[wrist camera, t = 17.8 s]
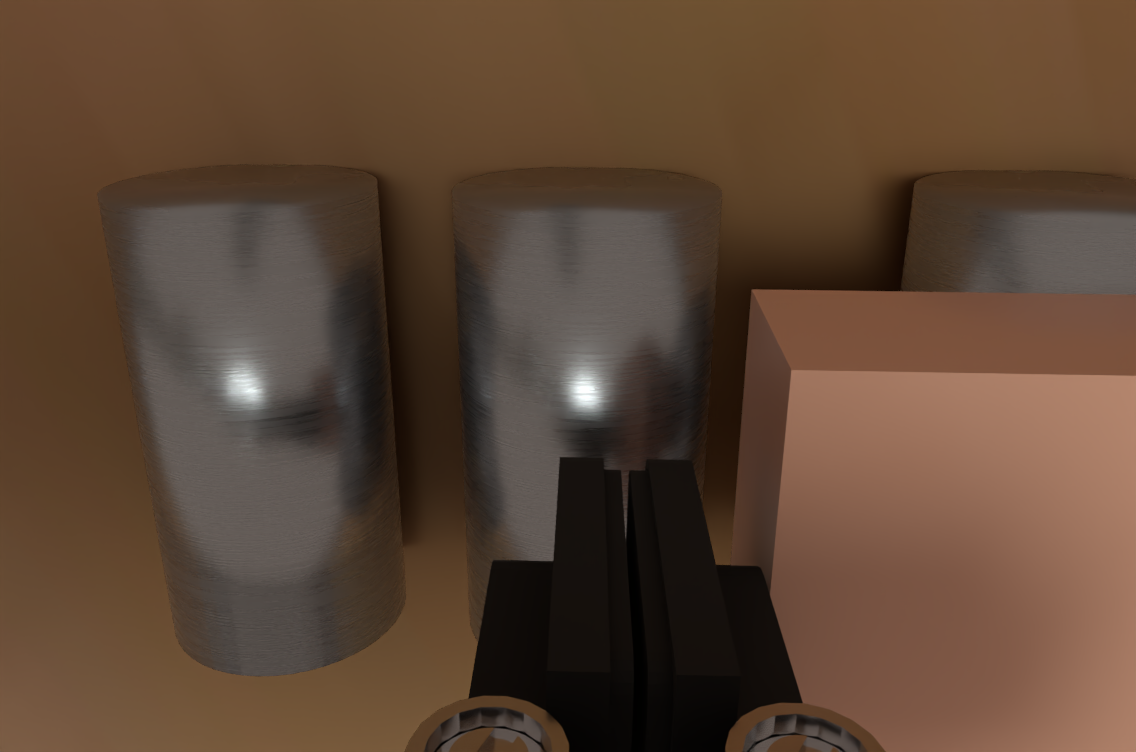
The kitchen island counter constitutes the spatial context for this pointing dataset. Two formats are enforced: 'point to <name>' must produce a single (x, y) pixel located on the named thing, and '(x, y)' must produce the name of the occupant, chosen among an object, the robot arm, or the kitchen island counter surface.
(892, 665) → the terracotta slab
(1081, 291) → the loose steel roller
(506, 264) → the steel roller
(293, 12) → the kitchen island counter surface
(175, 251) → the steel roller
